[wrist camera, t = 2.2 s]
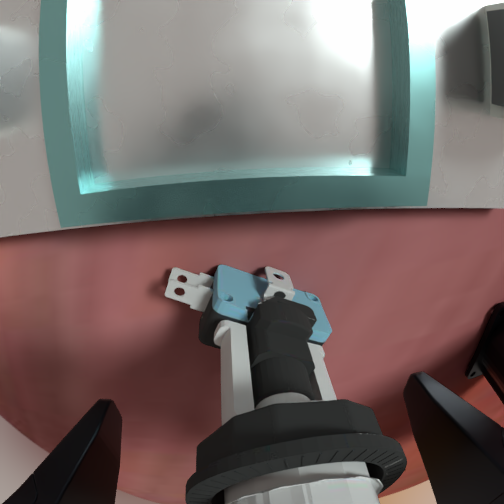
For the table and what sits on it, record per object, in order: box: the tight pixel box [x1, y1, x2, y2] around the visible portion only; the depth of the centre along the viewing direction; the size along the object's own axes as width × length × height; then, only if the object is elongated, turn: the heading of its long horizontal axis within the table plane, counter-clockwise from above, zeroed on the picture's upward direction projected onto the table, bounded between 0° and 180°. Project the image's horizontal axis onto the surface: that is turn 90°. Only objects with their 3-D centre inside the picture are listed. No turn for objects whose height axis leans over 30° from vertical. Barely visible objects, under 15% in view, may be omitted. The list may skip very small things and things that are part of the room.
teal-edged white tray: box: [0, 0, 504, 237], centre depth 8 cm, size 13×26×3 cm, turn 92°
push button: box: [165, 265, 407, 504], centre depth 9 cm, size 7×5×10 cm
